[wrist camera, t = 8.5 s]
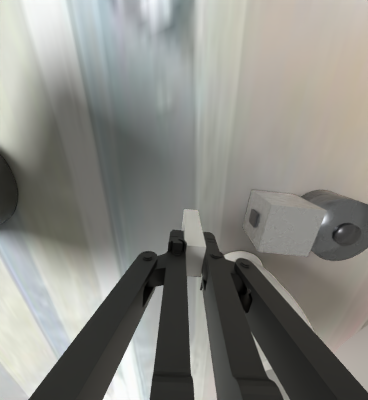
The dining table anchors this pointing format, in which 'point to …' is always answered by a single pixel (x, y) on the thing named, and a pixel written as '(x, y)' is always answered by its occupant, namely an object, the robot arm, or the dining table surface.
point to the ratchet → (339, 226)
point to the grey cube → (282, 223)
